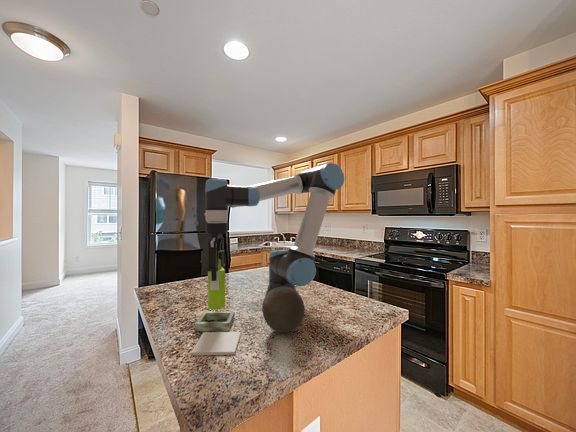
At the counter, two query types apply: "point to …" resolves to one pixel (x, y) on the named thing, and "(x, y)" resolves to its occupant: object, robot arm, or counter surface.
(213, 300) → the soap dispenser
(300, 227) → the robot arm
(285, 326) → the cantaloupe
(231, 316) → the frame
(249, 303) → the counter surface
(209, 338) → the mat
